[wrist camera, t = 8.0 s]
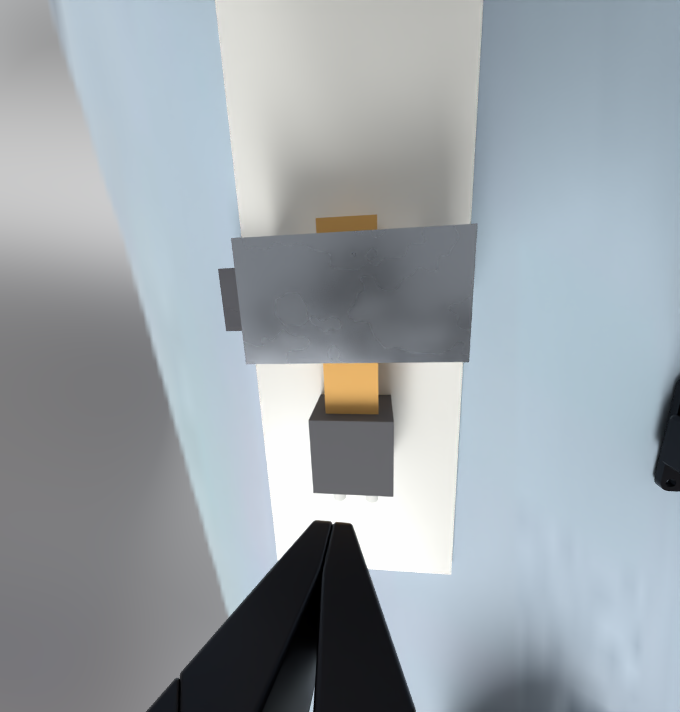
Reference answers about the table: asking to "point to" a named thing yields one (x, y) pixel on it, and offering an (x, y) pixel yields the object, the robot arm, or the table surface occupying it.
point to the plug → (352, 416)
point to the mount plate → (352, 198)
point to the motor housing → (353, 295)
